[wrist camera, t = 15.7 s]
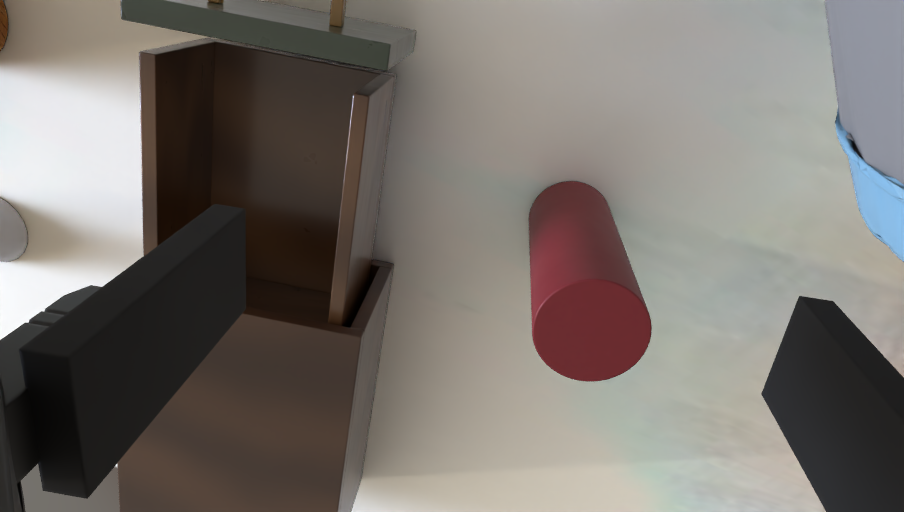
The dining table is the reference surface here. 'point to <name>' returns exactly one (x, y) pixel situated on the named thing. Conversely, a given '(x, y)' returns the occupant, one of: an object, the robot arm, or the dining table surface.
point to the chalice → (11, 233)
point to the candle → (583, 287)
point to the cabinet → (266, 418)
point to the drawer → (272, 141)
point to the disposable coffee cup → (3, 24)
